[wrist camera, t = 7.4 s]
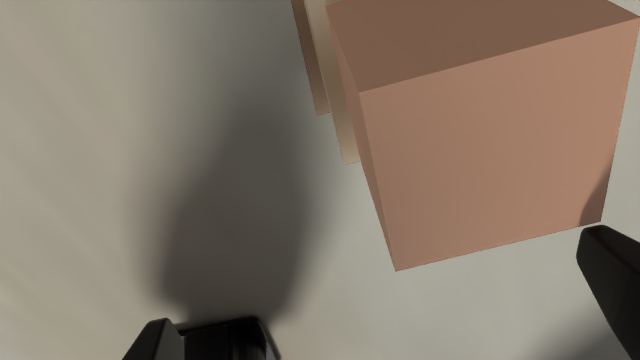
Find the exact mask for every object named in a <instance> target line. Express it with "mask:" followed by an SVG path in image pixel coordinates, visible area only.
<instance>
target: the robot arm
mask: <svg viewBox="0 0 640 360" xmlns="http://www.w3.org/2000/svg"><path fill="white" fill-rule="evenodd" d="M576 259H577V263H578V265H579V267H580V269H581V271H582V273H583V275H584V277H585V279H586V281H587V283H588V285H589V287H590V289H591V291H592V293H593V295H594V297H595V298H596V300H597V302H598V304H599V306H600V308H601V310H602V312H603V314H604V316H605V318H606V320H607V322H608V323H609V325H610V327H611V329H612V330H613V332H614V334H615V335H616V337H617V338H618V340H619V341H620V343H621V344H622V346H623V348H624V349H625V351H626V352H627V354H628V355H629V357H630V358H631V360H640V242H638V241H636V240H634V239H632V238H630V237H628V236H626V235H624V234H622V233H620V232H618V231H616V230H614V229H612V228H610V227H608V226H605V225H597V226H592V227H587V228H584V229H583V230H582V232H581V235H580V240H579V244H578V248H577V253H576ZM122 360H278V359H277V357H276V355H275V353H274V350H273V348H272V346H271V344H270V342H269V339H268V337H267V335H266V333H265V331H264V328H263V326H262V324H261V322H260V320H259V319H258V318H257V317H248V318H243V319H238V320H233V321H229V322H224V323H219V324H214V325H210V326H205V327H200V328H196V329H191V330H186V331H181V332H177V330H176V328H175V327H174V325H173V324H172V322H171V321H170V319H168V318H162V319H157V320H152V321H150V322H148V323H147V324H146V326H145V327H144V328H143V330H142V331H141V333H140V334H139V336H138V337H137V339H136V340H135V341H134V343H133V344H132V346H131V347H130V349H129V350H128V352H127V353H126V354H125V356H124V357H123V359H122Z"/></svg>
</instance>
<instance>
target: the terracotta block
mask: <svg viewBox="0 0 640 360" xmlns="http://www.w3.org/2000/svg"><path fill="white" fill-rule="evenodd" d="M325 8H326V12H327V17H328V21H329V25H330V30H331V34H332V39H333V43H334V47H335V52H336V56H337V61H338V65H339V69H340V74H341V78H342V83H343V87H344V92H345V96H346V100H347V105H348V109H349V114H350V118H351V122H352V127H353V131H354V136H355V140H356V144H357V149H358V153H359V157H360V160H361V164H362V167H363V170H364V173H365V176H366V179H367V183H368V186H369V189H370V192H371V195H372V199H373V202H374V205H375V208H376V211H377V214H378V218H379V221H380V224H381V227H382V230H383V233H384V237H385V240H386V243H387V246H388V249H389V253H390V256H391V259H392V262H393V265H394V268H395V272H396V271H400V270H404V269H408V268H412V267H416V266H421V265H425V264H429V263H433V262H437V261H441V260H445V259H449V258H453V257H457V256H461V255H466V254H470V253H474V252H478V251H482V250H486V249H490V248H494V247H498V246H502V245H506V244H511V243H515V242H519V241H523V240H527V239H531V238H535V237H539V236H543V235H547V234H551V233H556V232H560V231H564V230H568V229H572V228H576V227H580V226H584V225H588V224H592V223H596V222H601V217H602V212H603V207H604V202H605V197H606V192H607V187H608V182H609V177H610V172H611V167H612V162H613V157H614V152H615V147H616V142H617V137H618V132H619V127H620V122H621V117H622V112H623V107H624V102H625V97H626V92H627V87H628V82H629V77H630V72H631V67H632V62H633V57H634V52H635V47H636V42H637V37H638V32H639V27H640V16H638V15H636V14H634V13H632V12H630V11H628V10H626V9H624V8H622V7H620V6H618V5H616V4H614V3H612V2H610V1H608V0H345V1H342V2H338V3H335V4H331V5H327V6H325Z"/></svg>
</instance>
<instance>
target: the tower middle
mask: <svg viewBox="0 0 640 360" xmlns="http://www.w3.org/2000/svg"><path fill="white" fill-rule="evenodd" d="M342 1H345V0H304V4H305V8H306V12H307V16H308V21H309V25H310V29H311V33H312V37H313V42H314V46H315V50H316V54H317V58H318V63H319V67H320V71H321V75H322V80H323V84H324V88H325V92H326V96H327V101H328V104H329V108H330V112H331V116H332V120H333V123H334V127H335V131H336V135H337V139H338V142H339V146H340V150H341V154H342V158H343V161H344V165H346V164H351V163H355V162H359V161H361V160H360V157H359V153H358V149H357V144H356V140H355V136H354V131H353V127H352V122H351V118H350V114H349V109H348V105H347V100H346V96H345V92H344V87H343V83H342V78H341V74H340V69H339V65H338V61H337V56H336V52H335V47H334V43H333V39H332V34H331V30H330V25H329V21H328V17H327V12H326V8H325V6H327V5H331V4H335V3H338V2H342Z"/></svg>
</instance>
